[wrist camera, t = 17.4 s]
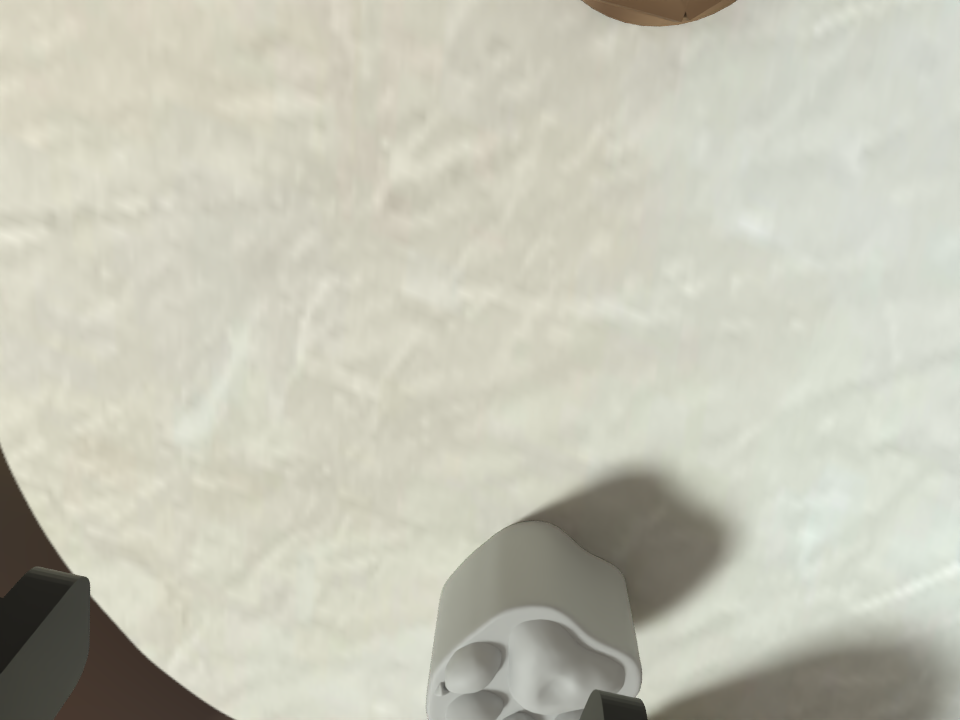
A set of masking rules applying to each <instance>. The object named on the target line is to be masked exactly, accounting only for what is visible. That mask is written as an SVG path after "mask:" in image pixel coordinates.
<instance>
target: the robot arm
mask: <svg viewBox="0 0 960 720" xmlns="http://www.w3.org/2000/svg"><path fill="white" fill-rule="evenodd" d="M89 628H90V582H89V579H88V578H87V577H84V576H79V575H75V574H70V573H65V572H61V571H56V570H52V569H47V568H42V567H34V568H32V569H30V570H29V571H28V572H27V573H26V574H25V575H24V576H23V577H22V578H21V579H20V580H19V581H18V582H17V583H16V584H15V586H14V587H13V588H12V589H11V590H10V591H9V592H8V593H7V594H6V596H5V597H4V598H0V720H53V719H54V718H55V716H56V715H57V713H58V712H59V710H60V709H61V707H62V706H63V704H64V703H65V701H66V700H67V698H68V697H69V696H70V694H71V692H72V691H73V689H74V688H75V686H76V684H77V682H78V680H79V678H80V676H81V674H82V672H83V669H84V666H85V663H86V660H87V656H88V652H89V633H90V632H89V630H90V629H89ZM579 720H648V719H647V714H646V709H645V706H644V703H643V702H642V700H641V699H639V698H634V697H629V696H625V695H620V694H616V693H611V692H606V691H602V690H597V689H595V690H593V691H592V693H591V694H590V696H589V698H588V701H587V703H586V705H585V708H584V710H583V712H582V714H581V717H580V719H579Z"/></svg>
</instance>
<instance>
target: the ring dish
mask: <svg viewBox="0 0 960 720" xmlns="http://www.w3.org/2000/svg"><path fill="white" fill-rule="evenodd" d="M582 1H583V2H584V3H586V4H587V5H589V6H590V7H591V8H593V9H595V10H596V11H598V12H600V13H602V14H604V15H606V16H608V17H611V18H613V19H616V20H619V21H622V22H625V23H630V24H636V25H641V26H669V25H679V24H683V23H687V22H692V21H696V20H699V19H701V18H704V17H706V16H709V15H712V14H714V13H716V12H718V11H720V10H722V9H724V8H725V7H727V6H729V5H731V4H733V3H734V2H735V1H737V0H582Z"/></svg>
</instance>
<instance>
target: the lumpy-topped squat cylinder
mask: <svg viewBox="0 0 960 720" xmlns="http://www.w3.org/2000/svg"><path fill="white" fill-rule="evenodd" d="M641 683H642V667H641V662H640V657H639V651H638V645H637V639H636V634H635V629H634V624H633V618H632V613H631V608H630V603H629V598H628V593H627V587H626V582H625V579H624V576H623V574H622V573H621V572H620V571H619V570H618V569H617V568H616V567H615V566H614V565H612V564H610V563H609V562H607V561H605V560H603V559H601V558H599V557H597V556H595V555H593V554H591V553H589V552H587V551H586V550H584V549H583V548H581V547H580V546H579V545H578V544H577V543H576V542H575V541H574V540H573V539H571V538H570V537H569V536H568V535H567V534H566V533H565V532H564V531H562V530H561V529H560V528H558V527H556V526H555V525H553V524H550V523H547V522H543V521H526V522H520V523H516V524H513V525H510V526H508V527H506V528H504V529H502V530H501V531H499V532H498V533H496V534H495V535H493V536H492V537H491V538H490V539H488V540H487V541H486V542H485V543H484V544H482V545H481V546H480V547H479V548H477V549H476V550H475V551H474V552H473V553H472V554H471V555H470V556H469V557H468V558H467V559H466V560H465V561H464V562H463V563H462V564H461V565H460V566H459V567H458V568H457V569H456V570H455V571H454V573H453V574H452V575H451V576H450V577H449V579H448V580H447V581H446V583H445V585H444V586H443V589H442V592H441V596H440V601H439V607H438V614H437V621H436V629H435V636H434V643H433V650H432V657H431V665H430V672H429V679H428V686H427V695H426V713H427V718H428V720H579V719H580V717H581V714H582V712H583V710H584V708H585V705H586V703H587V701H588V698H589V696H590V694H591V693H592V691H593V690H595V689H597V690H602V691H606V692H611V693H616V694H620V695H625V696H629V697H634V698H635V697H636V696H637V694H638V693H639V691H640V688H641Z"/></svg>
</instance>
